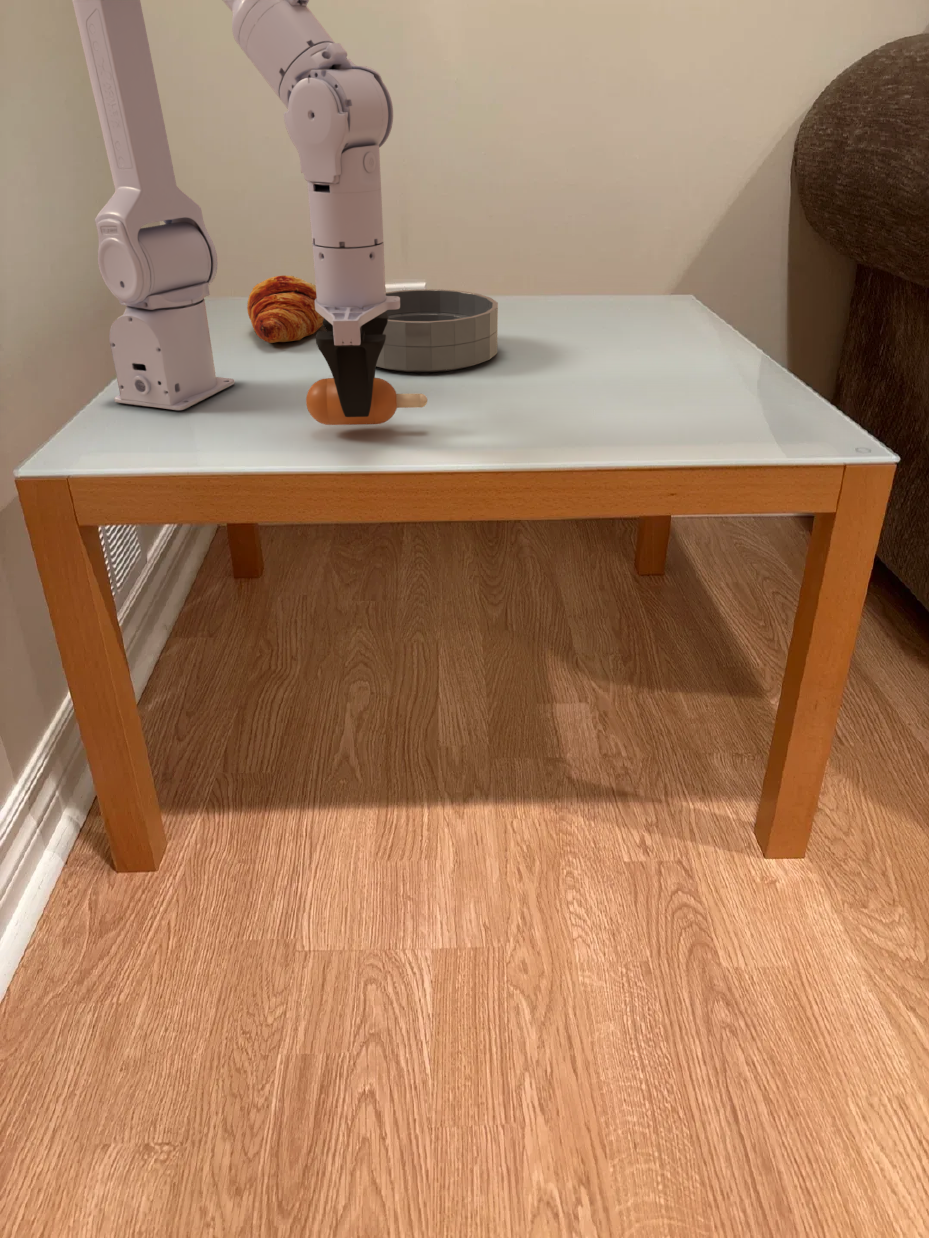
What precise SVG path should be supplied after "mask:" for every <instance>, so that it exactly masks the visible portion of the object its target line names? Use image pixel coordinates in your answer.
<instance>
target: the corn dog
mask: <svg viewBox="0 0 929 1238" xmlns="http://www.w3.org/2000/svg"><path fill="white" fill-rule="evenodd" d="M306 393H307V394H306V398H305V404H306V409H307V411H308V413H309V415H310V416H311V417H312V418H313V420H315V421H316V422H318V423H320V424H322V425H325V426H354V425H355V426H356V425H357V426H358V425H359V426H361V425H364V426H365V425H381V424H384V423H386V422H388V421H389V420H390V419H392V418H393V416H394V415H395V414H396V411H397V409H409V408H410V409H411V408H413V409H414V408H415V409H417V408H418V409H419V408H424V407H425V406H426V405H427V403H428V398H427V395H425V394H424V393H397V391H396V389H395V388H394V386H393V385H392V384H391V383H389V381H387V380H385V379H383V378H380V377H375V378H374V381H373V392H372V401H371V408H370V413H369V416H368V417H345V415H344V413H343V410H342V407H341V404H340V400H339V397H338V393H337V389H336V385H335V382H334V378H333V377H327V378H326V377H325V378H320V379H319V380H317V381H315V382H314V383H313V384H312V385H311V386H310V387H309V389H308V391H307V392H306Z"/></svg>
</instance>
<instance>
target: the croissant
mask: <svg viewBox="0 0 929 1238" xmlns="http://www.w3.org/2000/svg"><path fill="white" fill-rule="evenodd" d="M316 298H317V296H316V284H313V283H312V282H307V281H306V280H305V279H302V278H300V277H297V276H294V275H275V276H272V277H268V278H266V279H265V280H263V281H261V282H259V283H257V284H256V285H255V286H253V287H252V290H251V291H250V294H249V296H248V299H247V306H246V309H247V314H248V318H249V320H250V323H251V325H252V329H253V330H254V332H255V334H256V335H257V337H258V338H259V339H261V340H262V341H264V342H265V343H269V344H273V343H286V342H293V341H301V340H302V339H303V338H306V337H308V336H312V335H313V334H315V333H317V332H318V331H319V329H320V328H321V327H323V326H324V325H323V319H324V317H322V316H321V315H320V314H319V313H318V312H317V311H316V310H315V299H316Z"/></svg>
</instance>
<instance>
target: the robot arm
mask: <svg viewBox="0 0 929 1238" xmlns="http://www.w3.org/2000/svg"><path fill="white" fill-rule="evenodd" d="M221 1H222V2H223V3H224V4H225V5H226V7H227V8H228V9H229V10H230V11H231V12H232V17H231V30H232V31H231V32H232V36H233V39H234V41H235V42H236V44H237V45H238V46H239V48H240V49H241V50H242V51H243V53H244V54H245V56H246V57H247V58H248V59H249V61H250V62H251V63H252V64H253V66H254V67H255V68H256V70H257V71H258V73H259V74H261V76H262V77H263V79H264V81H266V83H267V84H268V85H269V86H270V88H271V89H272V90H273V92H274V93H275V95H276V96H277V97H278V99H279V100H280V101H281V103H282V104H283V105H284V106H285V107H286V109H287V111H284V112H283V122H284V125H285V128H286V131H287V134H288V137H289V139H290V141H291V142H292V144H293V145H294V147H295V148H296V151H297V153H298V157H299V164H300V173H301V174H303V177H304V180H305V181H306V185H307V187H306V188H307V195H308V196H307V197H308V209H309V210H308V211H309V222H310V234H311V247H312V258H313V271H314V282H315V285H316V296H317V298H316V299H315V310H316V311H317V312H318V313H319V314H320V315H321V316H322V317H324V319H323V325H322V326H323V327H324V329H325V330H323V331H316V335H315V343H316V346H317V348H318V350H319V351H320V353H321V355H322V356H323V358H324V361H326V364H327V366H328V369H329V370H330V372H331V376H332V378H334V382H335V385H336V389H337V393H338V397H339V400H340V404H341V407H342V410H343V413H344V415H345V417H368V416H369V413H370V408H371V401H372V392H373V381H374V378H376V377H375V376H376V369H377V368H376V367H377V366H376V364H377V360H378V357H379V355H380V352H381V350H382V348H383V345H384V343H385V340H386V335H382V334H383V332H384V329H385V327H386V325H387V323H388V314H387V313H384V312H385V311H386V310H395V309H399V308H400V297H398V296H386V292H387V290H386V271H385V247H384V246H385V245H384V221H383V220H384V219H383V203H382V201H383V200H382V199H383V197H382V178H381V156H380V153H381V152H380V148H381V147H382V146H383V145H384V144H385V143H386V141H388V139H389V137H390V134H391V130H392V128H393V125H394V124H393V123H394V107H393V101H392V97H391V94H390V92H389V89H388V88H387V86H386V85H385V83H384V81H383V79H382V75H381V74H380V73H379V72H378V71H377V70H375V69H374V68H371V67H369V66H366V65H356V64H355V63H354V62H353V61H352V60H351V59H350V58H347V57H348V51H347V50H346V48H344V46H343V45H342V44H341V43H340V42H335V41H334V40H333V38H332V37H331V36H330V34H329V33H328V31H327V30H326V29H325V28H324V27H323V25H322V24H321V22H320V21H319V20H318V18H317V17H316V16H315V15H314V13H313V12H312V11H311V10H310V8H309V7H308V6H307V5H309V2H310V0H221ZM71 2H72V7H73V10H74V15H75V20H76V23H77V28H78V33H79V37H80V41H81V45H82V50H83V54H84V59H85V63H86V68H87V73H88V76H89V80H90V86H91V90H92V94H93V98H94V103H95V107H96V112H97V117H98V120H99V125H100V130H101V134H102V138H103V143H104V147H105V152H106V156H107V160H108V164H109V170H110V174H111V177H112V183H113V187H114V193H113V194H112V195H111V197H110V198H109V200H107V202H106V203H105V205H104V206H103V207H102V208H101V209H100V211H99V212H98V214H97V215H96V216H95V218H94V223H95V227H96V231H97V236H98V248H97V264H98V269H99V272H100V273H99V274H100V276H101V278H102V280H103V282H104V285H106V288H107V289H108V290H109V291H110V293H111V294H112V295H113V296H114V297H115V298H116V299H117V300H118V301H119V302H118V303H119V305H120V306H126V307H125V309H124V312H123V314H122V315H120V316H118V317H117V318H116V319H115V320H113V322H112V324H111V326H110V329H109V334H108V335H109V337H108V340H109V346H110V352H111V357H112V361H113V365H114V367H113V368H114V371H115V377H116V381H117V386H118V391H119V394H118V395H116V396H114V397H113V401H114V402H115V403H119V404H126V405H134V406H142V407H149V408H158V409H166V410H172V411H184V410H186V409H188V408H190V407H191V406H194V405H196V404H199V403H200V402H202V401H204V400H205V399H208V398H209V397H212V396H214V395H215V394H217V393H219V392H222V391H223V390H225V389H227V388H229V387H231V386H233V385H234V384H236V382H235V378H230V377H221V376H217V375H216V369H215V367H216V366H215V362H214V355H213V348H212V341H211V340H212V339H211V334H210V327H209V321H208V314H207V307H206V300H205V298H206V297H209V296H210V295H211V294H210V285H211V284H212V283H213V282H214V280H215V278H216V275H217V272H218V254H217V251H216V250H217V249H216V246H215V244H214V242H213V240H212V237H211V235H210V233H209V232H208V230H207V227H206V225H205V221H204V217H203V212H202V207H201V206H200V205H199V204H198V203H197V202H196V201H195V200H193V199H192V198H191V197H190V196H188V195H187V194H186V193H185V192H184V191H183V190H181V188H179V186H177V181H176V175H175V169H174V166H173V161H172V156H171V151H170V146H169V140H168V135H167V130H166V129H167V128H166V124H165V120H164V119H165V118H164V114H163V110H162V103H161V99H160V94H159V89H158V84H157V79H156V75H155V69H154V64H153V58H152V53H151V49H150V44H149V38H148V34H147V33H148V32H147V29H146V23H145V19H144V12H143V7H142V3H141V0H71ZM159 222H164V224H159V225H153V226H146V227H144V226H145V225H149V224H152V223H153V224H154V223H159Z"/></svg>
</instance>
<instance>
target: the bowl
mask: <svg viewBox="0 0 929 1238" xmlns="http://www.w3.org/2000/svg"><path fill="white" fill-rule="evenodd" d="M386 296H398V297H400V308H399V309H395V310H386V311H385V312H384V313H387V314H388V323H387V325H386V327H385V329H384V332H383V334H382V335H386V340H385V343H384V345H383V348H382V350H381V352H380V355H379V357H378V360H377V364H376V367H377V368H380V369H383V370H384V369H385V370H389V371H394V372H395V371H396V372H405V373H440V372H451V371H456V370H462V369H466V368H469V367H472V366H476V365H479V364H481V363H484V362H487V361H489V360H491V359H492V358H493V357H495V356H496V355H497V354H498V334H499V333H498V326H499V325H498V324H499V322H498V321H499V302H498V301H496V300H495V299H493V297H489V296H487V295H483V294H480V293H477V292H471V291H470V292H469V291H464V290H455V289H443V288H442V289H436V288H435V289H433V288H432V289H431V288H430V289H428V288H420V289H419V288H418V289H404V290H403V289H402V290H393V291H392V290H391V291H386Z"/></svg>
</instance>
